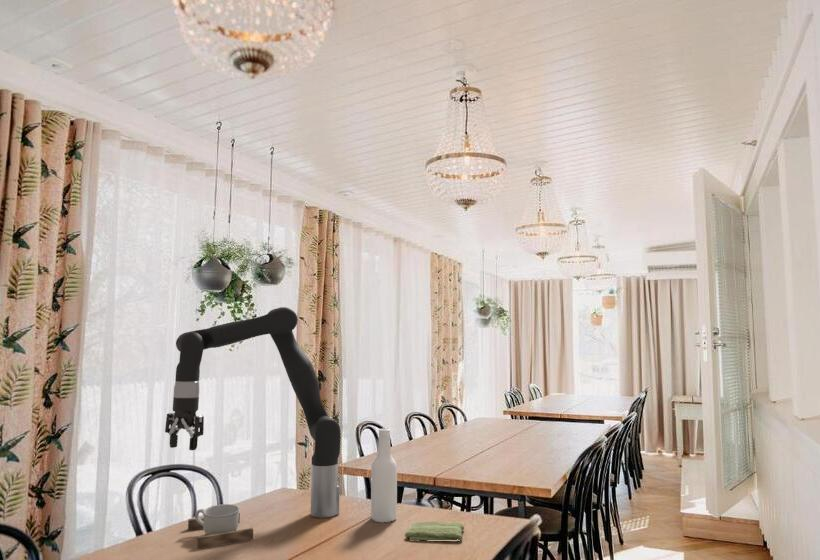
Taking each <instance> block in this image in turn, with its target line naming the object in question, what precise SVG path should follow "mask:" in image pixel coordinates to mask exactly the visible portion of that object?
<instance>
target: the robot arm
mask: <svg viewBox="0 0 820 560" xmlns="http://www.w3.org/2000/svg"><path fill="white" fill-rule="evenodd" d="M298 321H299V320H298V315H297V313H296V312H295V310H293V309H291V308H290V307H286V306H283V307H282V306H281V307H277V308H274V309H271V310H270V311H268V312H267V314H264V315H261V316H258V317H254V318H248V319H243V320H238V321H231V322H227V323H223V324H217V325H214V326H210V327H207V328H203V329H196V330H192V331H186V332H183V333H181V334H180V335H179V336H178V337H177V338H176V341H175V347H176V349H177V350H178V352H179V361H178V363H177V366H176V369H175V379H174V380H175V382H174V387H173V395H172V396H173V400H172V412H170V413H167V414H166V418H165V419H166V420H165V426H164V427H165V429H164V432H165V433H166V434H168V435H169V447H170V448H171V449H172V448H173V449H174V448H177V447H178V438H179V437H178V436H179V434H178V433H179V432H180V430H185V431H186V433H188V435H189V446H188V447H189V448H188V450H189V451H196V450H197V448H198V438H199V437H201V436H203V435H204V431H205V429H204V427H205V426H204V423H205V421H204V420H205V419H204V418H205V417H204V415H197V414H196V412H197V411H198V410H199V402H200V400H199V399H200V373H201V372H200V370H201V369H200V367H201V362H202V360H203V353H204V350H208V349H211V348H215V349H216V348H221V347H224V346H230V345H232V344H236V343H239V342H244V341H245V340H249V339H253V338H255V337H260V336H264V335H270V337H271V339H272V341H273V343H274V345H275V346H276V348H277V351H278V353H279V355H280V359H281V361H282V363H283V367H284V369H285V371H286V374H287V376H288V380H289V382H290V384H291V386H292V389H293V391H294V393H295V396H296V398H297V400H298V403H299V404H300V406H301V409H302V411H303V413H304V416H305V420H306V423H307V427H308V431H309V434H310V436H311V438H312V439H313V440H314V453H313V454H312V455H311V469H310V470H311V474H310V475H311V479H310V480H311V482H310V483H311V484H310V516H312V517H314V518H320V519H322V518H323V519H325V518H330V517H334V516H337V515H340V494H341V493H340V487H341V486H340V485H339V484H338V478H339V477H338V475H339V473H338V472H339V471H338V469H339V462H338V461H339V457H340V454H341V426H340V424H339V422H338V421H337V420H336V419H333V418H331V417H330V416H329V414H328V412H327V411H326V408H325V405H324V404H323V401H322V397H321V392H320V391H321V390H320V382H319V380H318V376H317V373H316V371H315V368H314V366H313V363H312V362H311V360H310V358H309V357H308V356H307V354H306V353H305V352H304V350H302V348H301V347H300V345H299V344H298V341H297V340H296V338H295V335H294V331H293V330H294V329H295V328H296V327H297V325H298Z"/></svg>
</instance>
